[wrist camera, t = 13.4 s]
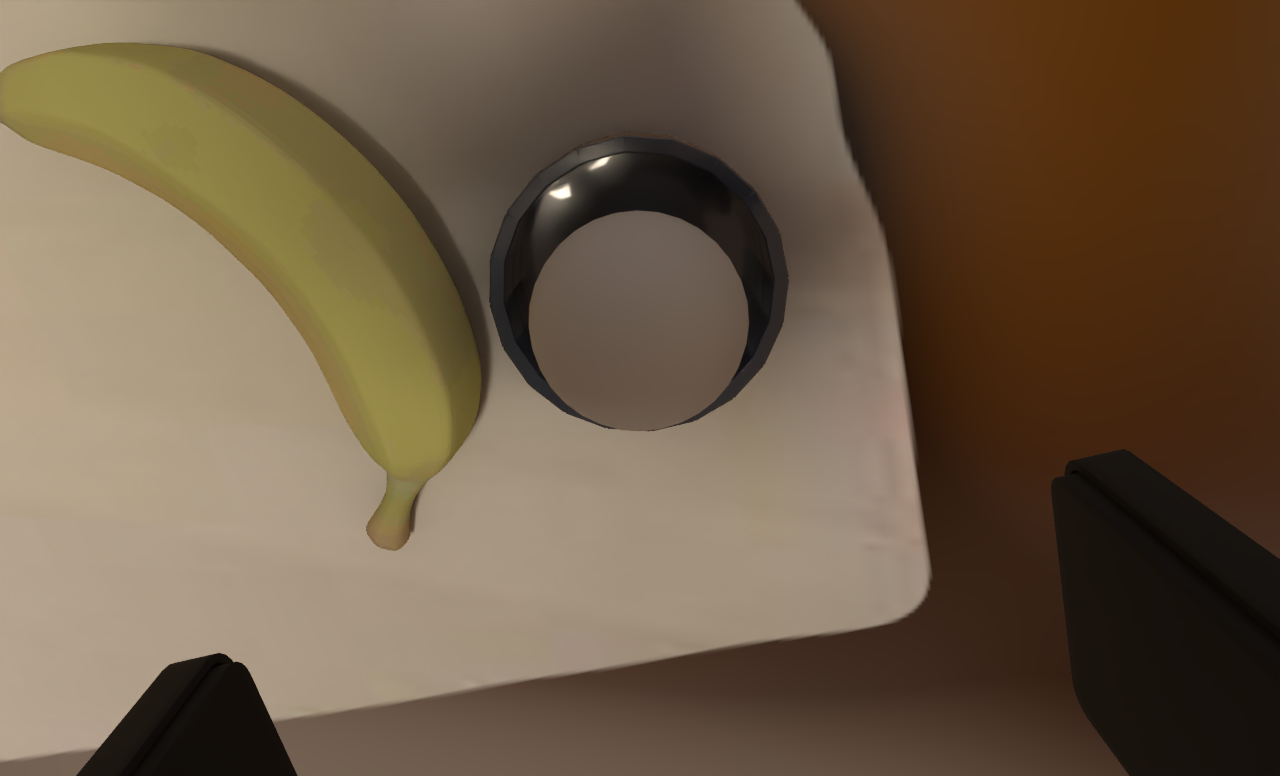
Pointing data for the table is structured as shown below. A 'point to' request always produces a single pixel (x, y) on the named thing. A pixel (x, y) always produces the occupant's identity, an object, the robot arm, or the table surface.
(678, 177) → the dark grey round bowl
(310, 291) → the banana
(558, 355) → the lightbulb
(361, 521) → the table surface
